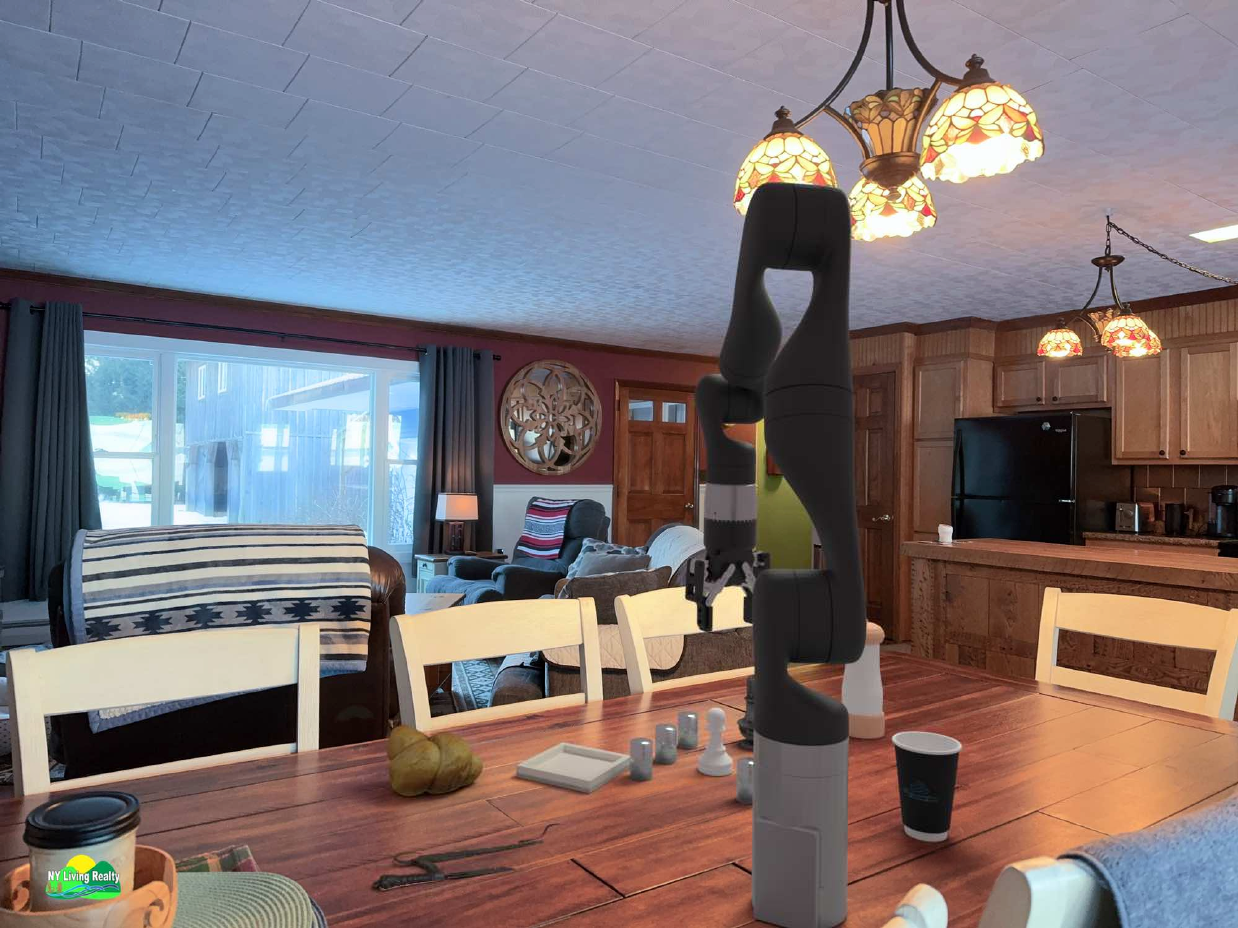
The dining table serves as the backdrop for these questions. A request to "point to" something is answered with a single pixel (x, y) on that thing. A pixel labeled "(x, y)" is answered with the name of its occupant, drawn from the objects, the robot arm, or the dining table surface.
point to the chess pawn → (715, 747)
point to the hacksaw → (435, 874)
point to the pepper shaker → (865, 689)
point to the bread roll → (429, 762)
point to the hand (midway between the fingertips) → (728, 626)
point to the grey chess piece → (748, 718)
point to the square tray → (574, 767)
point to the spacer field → (686, 740)
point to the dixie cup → (926, 782)
